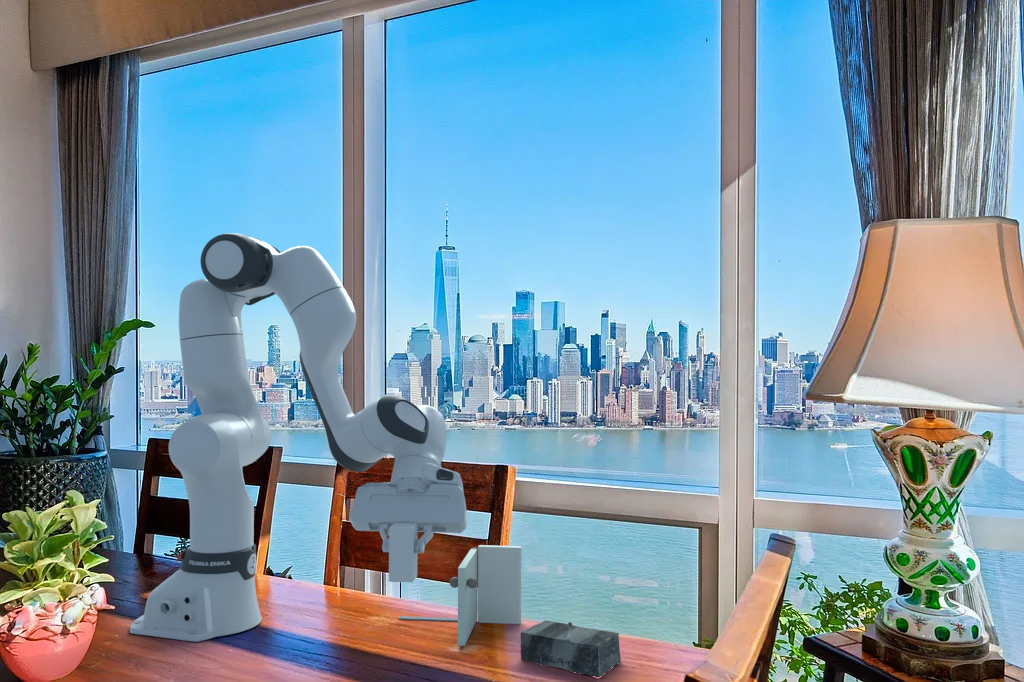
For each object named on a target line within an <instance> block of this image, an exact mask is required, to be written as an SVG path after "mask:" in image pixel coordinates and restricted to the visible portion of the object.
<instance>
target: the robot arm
mask: <svg viewBox="0 0 1024 682" xmlns="http://www.w3.org/2000/svg"><path fill="white" fill-rule="evenodd" d="M199 261H200V267H201V270H202V271H201V272H202V273H203V275H204V277H205V278H201V279H197V280H194V281H192V282H189V284H187V285H185V286H184V287H183V289H182V290H181V292H180V297H179V309H178V330H179V331H178V332H179V345H180V353H181V354H180V355H181V361H182V362H181V363H182V371H183V380H184V383H185V385H186V387H187V388H188V389H189V390H190V391H191V393H192V394H193V395H194V398H195V400H196V402H197V405H198V408H199V410H200V413H201V414H198V415H196V416H193V417H191V418H190V419H187V420H186V421H185V422H183V423H181V424H180V425H178V427H176V428H175V430H174V431H173V432H172V434H171V436H170V438H169V441H168V455H169V458H170V461H171V463H172V464H173V465H174V466H175V468H176V469H177V470H178V471H179V472H180V474H181V477H182V479H183V483H184V487H185V490H186V495H187V499H188V504H189V547H187V548H186V549H185V550H182V551H181V553H178V554H177V555H175V558H176V559H175V562H176V563H177V562H179V561H180V563H181V564H180V566H179V569H177V570H176V571H175V572H174V573H173V574H172V575H170V576H169V577H168V578H166V579H165V580H164V581H163V582H161V583H160V584H159V585H158V586H156V587H155V588H154V589H153V590H152V591H151V592H150V593H149V595H148V596H147V600H146V603H145V605H144V606H145V607H144V612H143V613H144V614H143V615H140V616H139V617H138V618H136V619H134V620H133V622H131V624H130V628H129V633H130V634H133V635H134V634H135V635H140V636H141V635H142V636H148V637H149V636H150V637H155V638H156V637H157V638H163V639H172V640H179V641H187V642H188V641H189V642H203V641H207V640H210V639H213V638H216V637H223V636H227V635H228V636H229V635H233V634H237V633H241V632H244V631H247V630H250V629H253V628H254V627H257V626H258V625H259V624H261V622H262V620H263V617H262V614H261V611H260V606H259V602H258V597H257V590H256V580H255V579H256V578H255V575H256V572H257V545H256V543H254V538H255V537H254V536H255V531H254V530H255V528H254V525H255V522H254V521H255V517H254V516H255V504H254V500H253V498H252V496H250V495H249V493H248V491H247V487H246V484H245V483H246V482H245V479H244V473H243V471H244V470H243V467H247V466H248V465H249V466H250V464H253V463H254V462H256V461H257V460H258V459H259V458H260V457H262V456H263V455H264V454H265V453H266V451H267V450H268V449H269V446H270V445H271V441H272V432H271V431H272V430H271V427H270V425H269V423H268V422H267V420H266V419H265V418H264V417H263V415H262V414H261V411H260V407H259V405H258V403H257V400H256V399H257V398H256V397H255V394H254V391H253V388H252V385H251V381H250V377H249V372H248V365H247V358H246V357H247V356H246V348H245V341H244V332H243V324H242V310H243V307H244V306H245V305H247V306H252V305H255V304H256V303H259V302H260V301H262V300H265V299H267V298H271V297H272V296H275V295H276V296H277V297H278V298H279V299H280V300H281V303H282V304H283V305H284V307H285V309H286V310H287V312H288V314H289V316H290V318H291V319H292V322H293V324H294V327H295V330H296V333H297V335H298V336H297V337H298V341H299V346H300V347H299V348H300V349H299V350H300V352H299V362H300V363H299V364H300V367H301V370H302V372H303V375H304V379H305V381H306V382H307V383H306V384H307V386H308V389H309V391H310V394H311V396H312V398H313V401H314V404H315V406H316V409H317V411H318V414H319V416H320V419H321V422H322V423H323V424H322V425H323V426H324V430H325V434H326V437H327V438H326V439H327V443H328V447H329V451H330V454H331V455H332V458H333V459H334V461H335V462H337V464H338V465H340V466H341V467H342V468H345V469H346V470H349V471H351V472H355V473H361V472H366V471H368V470H369V469H370V468H372V467H373V466H374V465H376V464H377V463H378V462H379V461H380V460H381V459H383V458H385V457H387V456H389V455H391V456H392V457H394V463H393V464H394V465H393V469H392V473H391V477H390V482H385V481H383V482H381V481H380V482H374V481H372V482H371V481H370V482H368V481H367V482H366V483H365V484H362V485H360V486H358V487H357V489H356V493H355V496H354V503H353V506H352V507H351V510H350V515H349V521H350V523H351V525H352V527H353V529H355V531H359V532H379V534H380V537H381V539H382V545H381V549H382V553H389V527H390V526H391V525H392V524H393V523H418V533H423V535H422V536H421V537H420V538H418V539H415V545H414V551H415V553H418V554H424V553H425V547H426V545H427V544H428V543H429V541H431V540H432V538H433V537H434V533H438V534H439V533H442V534H443V533H447V534H461V533H463V532H464V531H465V530H466V529H467V525H468V524H467V523H468V512H467V504H466V497H465V494H464V484H463V483H464V482H463V480H462V477H461V474H460V473H459V472H457V471H455V470H454V471H453V470H450V469H447V468H443V467H442V461H443V459H444V456H445V451H446V446H447V427H446V425H447V424H446V421H445V417H444V416H443V414H442V412H440V411H439V410H438V409H437V408H435V407H433V406H432V405H427V404H418V405H415V404H414V403H412V402H411V401H409V400H408V399H406V398H405V397H402V396H400V395H397V394H394V393H389V394H384V395H383V396H381V397H379V398H378V399H375V400H374V401H373V402H371V403H370V404H368V405H366V406H365V407H364V408H362V409H361V410H360V411H358V412H357V413H354V412H353V410H352V407H351V405H350V403H349V400H348V397H347V395H346V393H345V389H344V387H343V385H342V382H341V379H340V375H339V366H340V365H339V363H340V361H341V358H342V355H343V353H344V351H345V349H346V347H347V345H348V344H349V342H350V341H351V339H352V337H353V335H354V332H355V329H356V324H357V312H356V309H355V307H354V304H353V301H352V299H351V298H350V296H349V294H348V292H347V291H346V289H345V287H344V285H343V284H342V282H341V281H340V279H339V277H338V275H337V274H336V273H335V271H334V270H333V268H331V266H330V265H329V264H328V262H327V261H326V260H325V258H324V257H323V256H322V255H321V254H320V253H319V251H317V249H315V248H313V247H310V246H307V245H301V246H300V245H298V246H293V247H291V248H288V249H286V250H285V251H282V252H281V251H280V250H279V249H278V248H276V247H274V246H273V245H271V244H269V243H267V242H265V241H264V240H261V239H259V238H256V237H251V236H247V235H246V234H241V233H237V232H227V233H222V234H219V235H216V236H214V237H212V239H211V238H210V240H208V242H206V244H205V246H204V248H203V249H202V251H201V255H200V260H199Z"/></svg>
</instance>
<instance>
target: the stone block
mask: <svg viewBox="0 0 1024 682" xmlns="http://www.w3.org/2000/svg"><path fill="white" fill-rule="evenodd" d="M520 659H521V661H524V662H528V661H529V662H528V663H531V662H533V663H532V664H536V663H538V664H537V665H539V664H542V665H541V666H543V665H545V667H552V668H559V669H562V670H564V671H568V672H570V671H572V672H576V673H581V674H587V675H586V676H589V675H591V676H595V677H600V676H602V675H603V674H604V673H606V672H607V671H608V670H610V669H611V668H612V667H614V666H615V665H616V666H617V664H618V663H619V662H620V663H621V651H620V634H619V632H616V631H615V632H614V631H608V630H601V629H597V628H592V627H591V628H590V627H584V626H578V625H573V623H572V622H570V621H569V622H568V623H565V622H559V621H553V620H547V619H545V620H544V621H542V622H539V623H537V624H535V625H533V626H531V627H529V628H527V629H524V630H522V631H521V632H520ZM618 665H619V664H618ZM616 666H615V667H616ZM615 667H614V668H615ZM610 671H611V670H610ZM572 672H571V673H572ZM581 674H580V675H581ZM606 674H607V673H606ZM591 676H590V677H591Z"/></svg>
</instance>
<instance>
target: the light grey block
mask: <svg viewBox="0 0 1024 682" xmlns="http://www.w3.org/2000/svg"><path fill="white" fill-rule="evenodd" d="M418 535H419V532H418V523H393V524H392V525H391V526H390V527H389V536H388V538H389V552H388V582H389V583H390V582H391V583H413V582H414V581H415V580H416V578H417V577H418V556H419V555H418V554H419V553H415V551H414V545H415V539H419V537H418Z"/></svg>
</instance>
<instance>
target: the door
mask: <svg viewBox="0 0 1024 682" xmlns="http://www.w3.org/2000/svg"><path fill="white" fill-rule="evenodd" d="M449 585H450V587H452V588H455V589H456V588H457V618H458V622H457V646H459V647H460V646H462V647H463V646H466V644H467V642H468V640H469V638H470V635H471V633H472V631H473V628H474V627H475V624H476V622H477V621H478V547H471V548H470V550H469V551H468V552H467V554H466V555H465V557H464V558H463V560H462V561H461V563H460V564H459V565H458V568H457V576H452V577H451V578H450V579H449Z"/></svg>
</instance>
